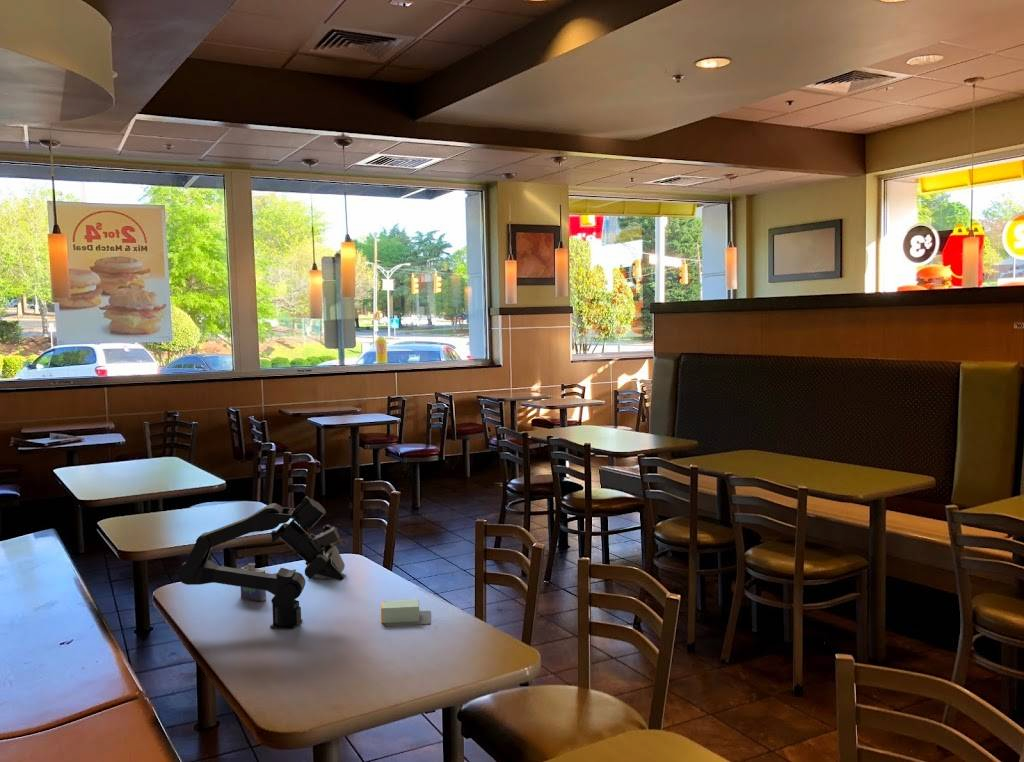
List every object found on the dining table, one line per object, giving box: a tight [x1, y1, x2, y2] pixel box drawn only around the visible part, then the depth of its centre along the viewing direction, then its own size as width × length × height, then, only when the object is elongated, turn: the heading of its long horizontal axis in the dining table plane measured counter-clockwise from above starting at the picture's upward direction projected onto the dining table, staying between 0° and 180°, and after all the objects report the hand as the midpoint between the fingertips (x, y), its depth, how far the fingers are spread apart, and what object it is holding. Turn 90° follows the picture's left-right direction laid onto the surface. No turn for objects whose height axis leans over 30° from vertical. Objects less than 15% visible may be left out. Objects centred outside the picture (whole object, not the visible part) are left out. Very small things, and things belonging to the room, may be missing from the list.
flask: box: [239, 562, 267, 603], centre depth 250 cm, size 9×3×11 cm, turn 61°
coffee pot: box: [313, 534, 348, 580], centre depth 268 cm, size 21×12×15 cm, turn 34°
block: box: [380, 598, 420, 624], centre depth 232 cm, size 4×6×10 cm
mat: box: [384, 610, 431, 627], centre depth 232 cm, size 12×10×1 cm
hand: (343, 579), depth 229 cm, fingers closed
